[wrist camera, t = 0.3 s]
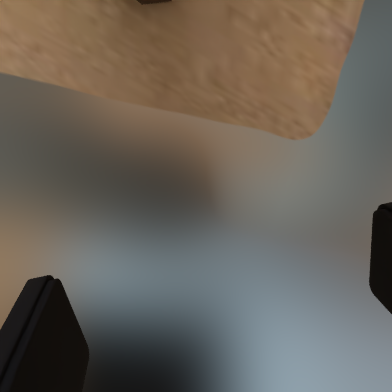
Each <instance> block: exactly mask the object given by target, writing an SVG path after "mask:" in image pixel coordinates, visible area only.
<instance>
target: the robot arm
mask: <svg viewBox="0 0 392 392" xmlns="http://www.w3.org/2000/svg"><path fill="white" fill-rule="evenodd" d="M369 283H370V284H369V285H370V288H371V291H372V293H373V294H374V295H375V296H376V297H377V298H378V300H379V301H380V302H381V303H382V304H383V305H384V306H385V307H386V308H387V309H388V311H389V312H390V313H391V314H392V202H390V203H386V204H381V205H380V206H379V207H378V209H377V210H376V211H375V212H374V213H373V224H372V242H371V259H370V277H369ZM88 361H89V349H88V345H87V343H86V340H85V338H84V335H83V333H82V331H81V328H80V326H79V323H78V321H77V319H76V316H75V314H74V312H73V309H72V307H71V304H70V302H69V300H68V297H67V295H66V292H65V290H64V287H63V285H62V283H61V281H60V280H59V279H54V278H53V277H52V276H51V275H47V276H43V277H38V278H33V279H30V280H28V281H27V283H26V284H25V286H24V288H23V290H22V292H21V293H20V295H19V297H18V299H17V301H16V302H15V304H14V306H13V308H12V310H11V312H10V314H9V315H8V317H7V319H6V321H5V322H4V324H3V326H2V328H1V330H0V392H82V389H83V384H84V380H85V375H86V370H87V365H88Z"/></svg>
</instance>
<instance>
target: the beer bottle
mask: <svg viewBox="0 0 392 392" xmlns="http://www.w3.org/2000/svg"><path fill="white" fill-rule="evenodd" d="M137 1H139V2H140V3H141V4H150V3H159V2H168V1H171V0H137Z"/></svg>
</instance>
